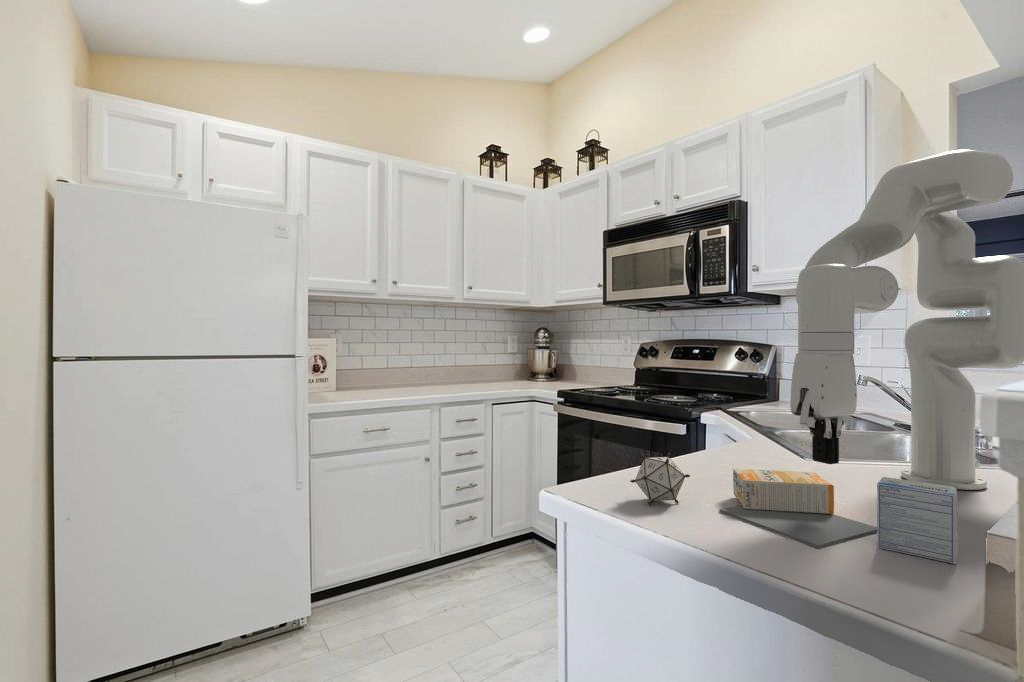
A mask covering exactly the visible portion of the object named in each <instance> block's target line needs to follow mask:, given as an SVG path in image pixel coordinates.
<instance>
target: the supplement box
mask: <svg viewBox="0 0 1024 682" xmlns="http://www.w3.org/2000/svg"><path fill="white" fill-rule="evenodd" d="M732 471H733V472H732V480H733V481H732V484H733V485H732V488H733V495H734V496H735V498H736V500H737V501H738V502H739V505H742V506H743V508H744V509H755V510H773V511H789V512H806V513H822V514H834V513H835V485H834V484H832V483H830V482H829V481H828V480H826V479H824V478H823V477H821V476H819V474H817V473H816V472H813V471H812V472H809V471H808V472H807V471H794V470H791V471H788V470H772V469H771V470H770V469H768V470H767V469H751V468H750V469H749V468H735V467H734V468H733V470H732Z"/></svg>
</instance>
